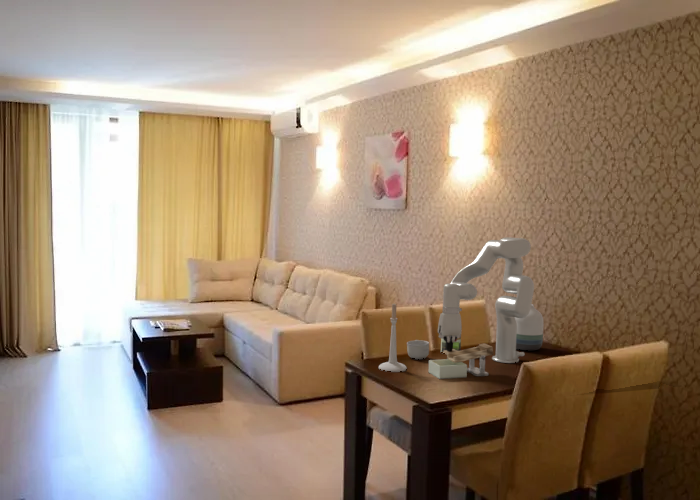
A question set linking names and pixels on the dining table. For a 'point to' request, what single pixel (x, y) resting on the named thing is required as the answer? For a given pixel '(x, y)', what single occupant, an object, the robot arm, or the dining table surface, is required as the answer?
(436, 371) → the pale green open box
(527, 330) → the vase
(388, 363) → the candlestick
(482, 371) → the lever stand
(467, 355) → the lever
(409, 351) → the teacup
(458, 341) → the coffee can
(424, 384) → the dining table surface
